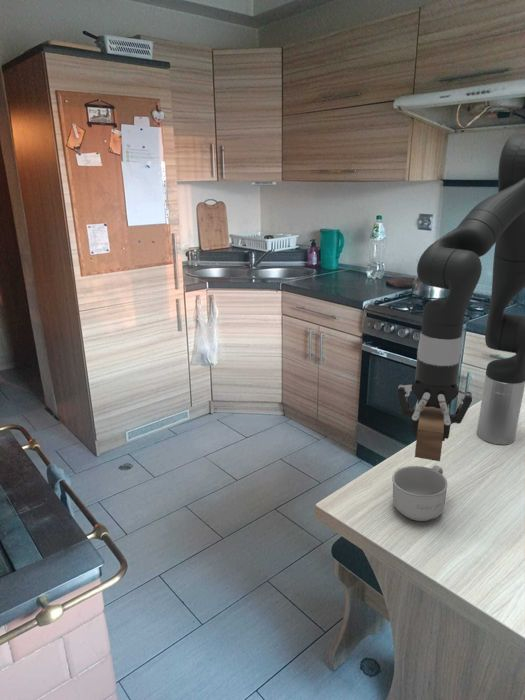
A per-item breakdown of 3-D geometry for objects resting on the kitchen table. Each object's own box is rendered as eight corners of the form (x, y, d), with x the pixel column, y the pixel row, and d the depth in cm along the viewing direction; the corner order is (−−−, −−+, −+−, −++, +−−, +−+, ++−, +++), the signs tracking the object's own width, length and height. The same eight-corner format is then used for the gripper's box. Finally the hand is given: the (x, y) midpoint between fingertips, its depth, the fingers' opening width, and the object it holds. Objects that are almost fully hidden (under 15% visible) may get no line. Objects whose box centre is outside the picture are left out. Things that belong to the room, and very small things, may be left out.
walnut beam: (419, 422, 105) (421, 397, 103) (441, 425, 103) (444, 400, 101) (414, 457, 93) (417, 428, 90) (439, 461, 91) (443, 432, 89)
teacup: (418, 536, 97) (422, 502, 94) (378, 506, 105) (381, 474, 102) (464, 510, 103) (469, 478, 101) (423, 484, 112) (427, 453, 109)
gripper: (479, 353, 93) (467, 433, 99) (400, 346, 97) (394, 422, 103) (481, 368, 86) (468, 453, 92) (397, 359, 91) (390, 440, 97)
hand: (429, 436), depth 98 cm, fingers closed on walnut beam, 4 cm apart
